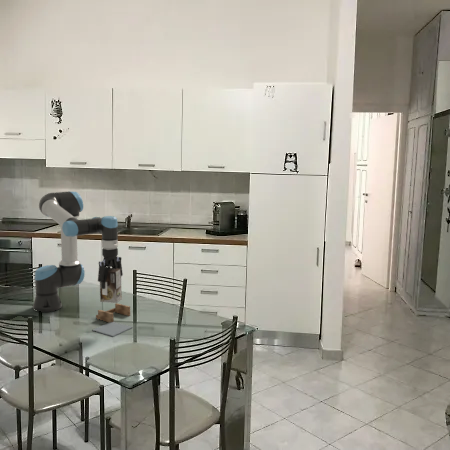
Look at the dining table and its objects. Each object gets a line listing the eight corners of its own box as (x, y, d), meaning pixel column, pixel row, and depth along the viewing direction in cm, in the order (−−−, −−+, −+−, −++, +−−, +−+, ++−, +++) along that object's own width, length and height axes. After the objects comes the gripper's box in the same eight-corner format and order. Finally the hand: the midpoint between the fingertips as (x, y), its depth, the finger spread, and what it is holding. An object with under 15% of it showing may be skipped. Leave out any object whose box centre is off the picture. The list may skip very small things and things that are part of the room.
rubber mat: (92, 330, 254) (92, 329, 254) (112, 322, 265) (112, 321, 265) (113, 336, 247) (113, 335, 246) (132, 327, 258) (132, 326, 258)
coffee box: (122, 299, 256) (121, 268, 253) (116, 303, 250) (116, 271, 247) (105, 297, 258) (104, 267, 255) (99, 301, 252) (98, 270, 249)
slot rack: (96, 318, 270) (95, 309, 269) (114, 311, 282) (114, 302, 281) (112, 323, 264) (112, 314, 263) (130, 315, 276) (130, 306, 275)
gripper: (100, 252, 239) (101, 299, 243) (129, 245, 256) (130, 288, 260) (88, 250, 243) (90, 296, 247) (118, 243, 260) (119, 286, 264)
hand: (110, 292), depth 253 cm, fingers closed on coffee box, 8 cm apart
